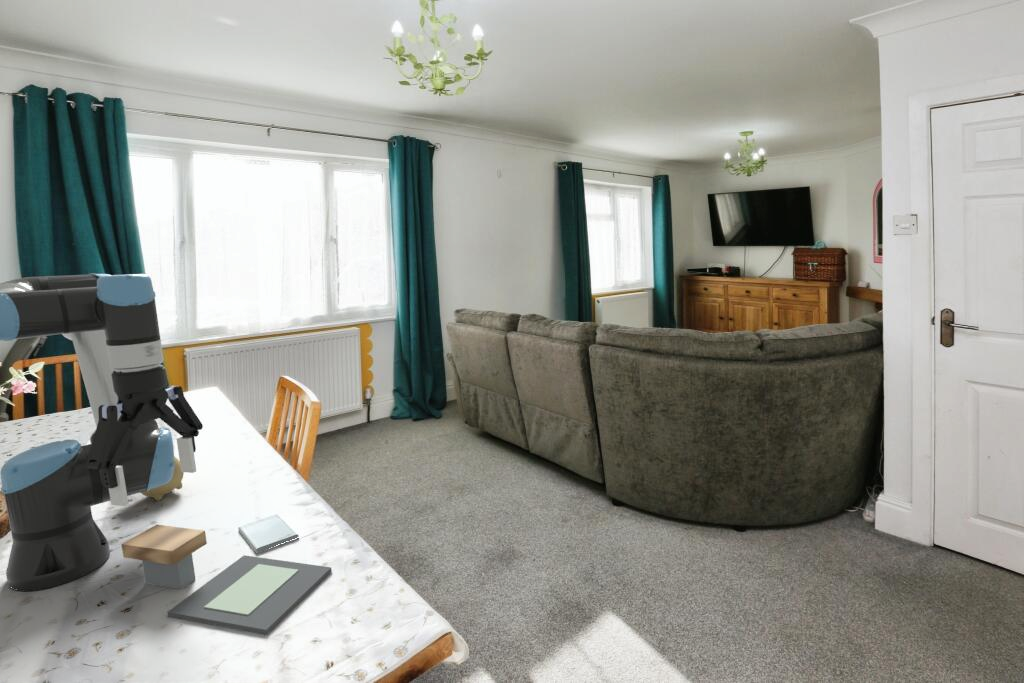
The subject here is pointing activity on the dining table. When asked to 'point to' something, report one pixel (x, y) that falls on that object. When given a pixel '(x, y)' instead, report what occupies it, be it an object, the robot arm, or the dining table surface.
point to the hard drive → (267, 533)
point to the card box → (164, 544)
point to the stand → (170, 573)
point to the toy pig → (170, 486)
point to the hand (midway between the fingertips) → (156, 487)
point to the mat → (251, 594)
